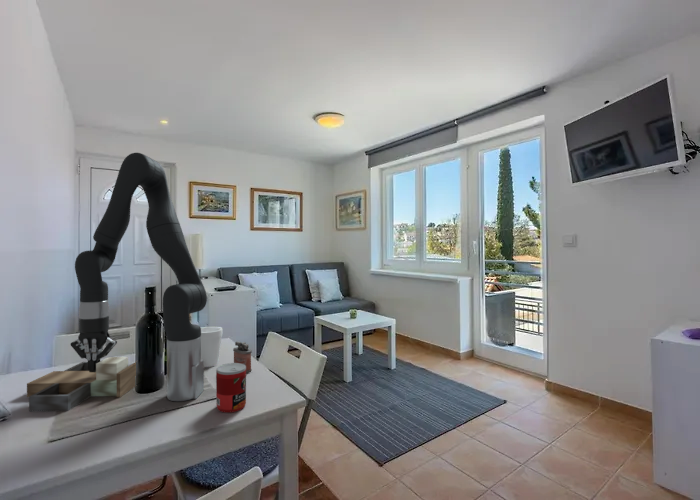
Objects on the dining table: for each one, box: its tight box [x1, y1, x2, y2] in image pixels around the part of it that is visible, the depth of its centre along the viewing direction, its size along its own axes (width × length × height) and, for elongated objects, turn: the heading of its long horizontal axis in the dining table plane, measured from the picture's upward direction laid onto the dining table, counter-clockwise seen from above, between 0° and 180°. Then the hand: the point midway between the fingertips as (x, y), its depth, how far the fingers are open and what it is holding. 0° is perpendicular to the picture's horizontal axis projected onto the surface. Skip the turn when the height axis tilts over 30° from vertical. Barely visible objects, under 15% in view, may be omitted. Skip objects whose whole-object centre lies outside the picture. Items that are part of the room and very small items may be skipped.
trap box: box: [26, 361, 137, 412], centre depth 109 cm, size 27×28×7 cm
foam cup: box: [200, 326, 223, 368], centre depth 133 cm, size 10×9×13 cm
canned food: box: [215, 362, 247, 414], centre depth 99 cm, size 8×8×11 cm
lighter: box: [232, 341, 253, 374], centre depth 126 cm, size 8×3×10 cm, turn 58°
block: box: [96, 356, 129, 380], centre depth 110 cm, size 6×6×5 cm
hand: (93, 371), depth 109 cm, fingers closed
